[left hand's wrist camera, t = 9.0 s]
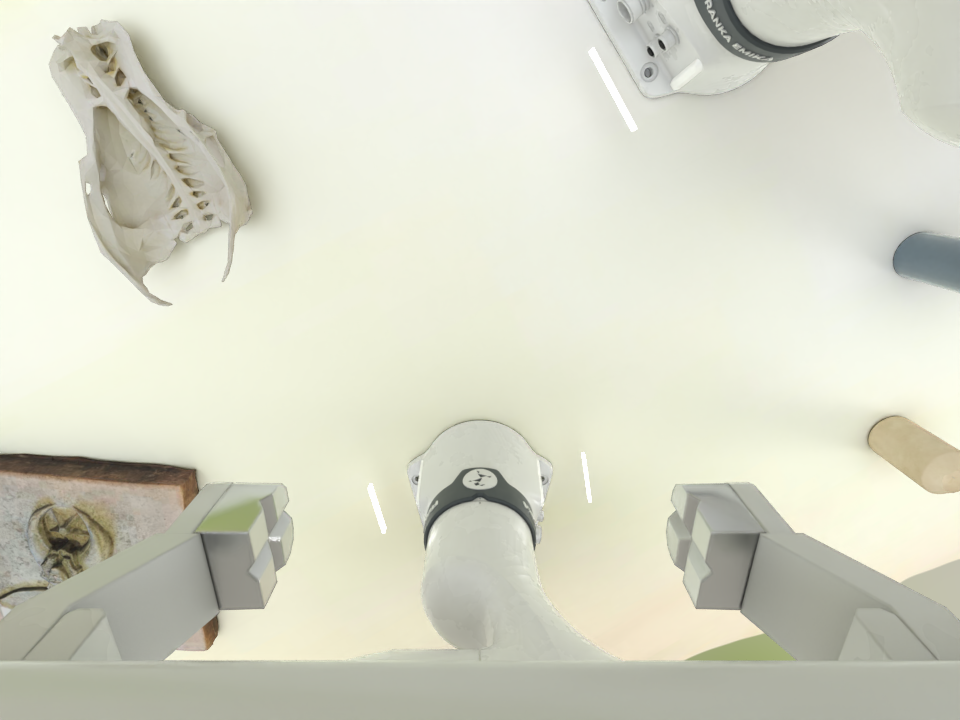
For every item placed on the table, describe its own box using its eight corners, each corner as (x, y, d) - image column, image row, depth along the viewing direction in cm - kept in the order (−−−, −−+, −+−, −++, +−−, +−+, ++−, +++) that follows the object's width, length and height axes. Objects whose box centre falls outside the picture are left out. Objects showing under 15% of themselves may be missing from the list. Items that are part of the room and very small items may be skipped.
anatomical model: (132, 322, 50) (-60, 51, 41) (180, 296, 59) (31, 67, 50) (264, 265, 48) (94, -32, 39) (295, 247, 57) (161, -1, 48)
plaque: (167, 499, 60) (194, 678, 71) (199, 465, 66) (219, 634, 77) (-97, 476, 59) (-29, 661, 70) (-39, 445, 66) (16, 618, 77)
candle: (869, 419, 64) (935, 464, 55) (914, 412, 63) (989, 455, 54) (865, 456, 66) (929, 505, 57) (910, 449, 65) (981, 497, 56)
